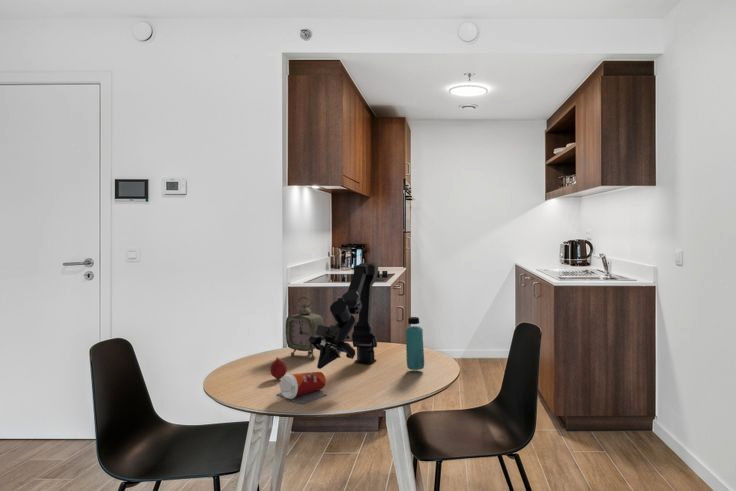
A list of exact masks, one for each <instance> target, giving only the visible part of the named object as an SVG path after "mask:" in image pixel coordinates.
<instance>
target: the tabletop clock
mask: <svg viewBox="0 0 736 491" xmlns="http://www.w3.org/2000/svg"><path fill="white" fill-rule="evenodd" d="M302 299H306V300H308V301H309V303H310V304H309V305H307V304H306V303H303V304H301V303H300V301H301V300H302ZM297 300H298V301H297V304H298V305H299V306H300V307H301V308H300V309H299V311H298V313H296V314H293V315H288V316H287V317H286V320H285V340H286V345H287V347H288V348H290V350H293V351H292V352H291V353H290V356H291V357H294V356H295V353H296V351H299V352H307V355H308V356H310V359H311V360H314V359H315V355H314V350H315V349H316V348H315V347H314V346H313V345H312V344H311V343H310V342H309V341H308V340H309V338H310V337H311V336H313V335H315V336H319V337H321V338H322V337H323V336H322V335H319V334H318V335H317V334H316V330H317V327H318V325H322V326H325V322H324V321H325V320H324V317H323V316H321V315H320V314H318V313H312V310H311V309H310V308H309V307H310V306H312V301H311V299H310V298H309V297H307V296H301V297H300V298H298V299H297ZM322 339H323V338H322ZM323 340H324V339H323ZM324 341H325V340H324Z"/></svg>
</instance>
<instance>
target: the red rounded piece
mask: <svg viewBox="0 0 736 491" xmlns="http://www.w3.org/2000/svg"><path fill="white" fill-rule="evenodd" d="M287 369H288V368H287V365H286V363H285V362H284V361H283V360H282V359H281V358H279V357H278V356H276V358H275V360H274V361H273V362H272V363H271V364H270V368H269V373H270V374H271V376H272V377H274V378H275V379H276V380H277V381H278V380H281V379H282V378H283V376H285V375H286V374H287V371H288V370H287Z"/></svg>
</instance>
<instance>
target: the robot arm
mask: <svg viewBox="0 0 736 491" xmlns="http://www.w3.org/2000/svg"><path fill="white" fill-rule="evenodd" d="M378 274H379V266H378V265H376V263H373V262H371V263H367V262H366V263H363V262H361V263H359V264H356V265H354V266H353V274H352V277H351V280H350V283H349V286H348V289H347V291H346V292H345V293H344V294H342V296H341V297H338V298H337V300H336V301H334V302H332V304H331V305H330V306H329V307H330V308H329V310H330V312H331V315H332V316H333V318H334V320H335V322H336V323H335V325H332V324H331V325H329V326H326V325H324V326H322V325H318V327H317V330H316V334H317V335H318V334H319V335H322V336H323V337H322V338H323V339H324V340H323V339H322V338H321V337H319V336H315V335H313V336H311V337H310V338H309V340H308V341H309V342H310V343H311V344H312V345H313V346H314V347H315V349H316V350H317V351H319V357H318V360H317V361H318V362H317V365H316V367H317V369H318V370H319V369H320V370H321V369H323V368H324V367H325V366H327V365H328V364H331V362H334V361H336V360H337V359H338V358H339V359H341V353H345V356H346V358H347V359H351V360H353V359H354V358H355V356H356V359H355V360H354V363H358V364H361V365H370V364H372V363H375V362H377V359H375V348H378V339H377V336H376V334H375V332H374V331H375V330H374V327H373V325H372V323H371V312H372V310H371V309H372V296H373V295H372V294H373V285H374V284H375V282H376V281H377V277H378ZM354 315H358V320H357V318H356V317H355V316H354ZM352 329H353V330H352ZM351 331H352V333H351ZM350 333H351V338H352V339H351V340H352V341H351V342H352V345H351V344H350V343H349V342H345V341H346V340H350V336H349V335H350ZM355 348H356V349H355Z"/></svg>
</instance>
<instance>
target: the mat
mask: <svg viewBox="0 0 736 491" xmlns="http://www.w3.org/2000/svg"><path fill="white" fill-rule="evenodd" d="M276 395H277V396H278V397H281V398H285V399H287V400H290V401H292V402H295V403H298V404H301V405H305V404H308V403H311V402H313V401H315V400H318V399H321V398H323V397H326V396H327V395H328V394H327V393H324V392H322V391H320V390H317V391H314V392H310V393H307V394H303V395H299V396H296V397H294V398H292V399H289V398H286V397H284V396H283V395H282V393H281V392H279V393H276Z"/></svg>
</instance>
